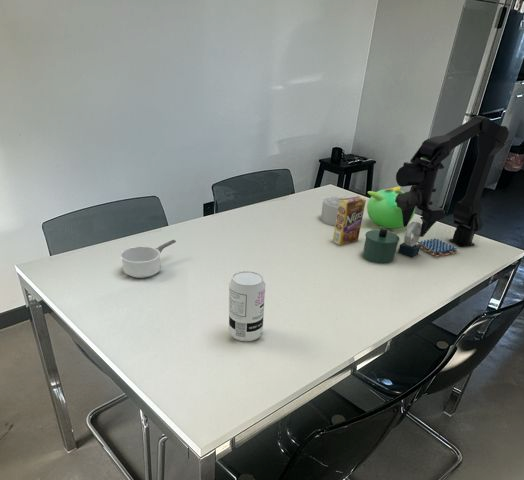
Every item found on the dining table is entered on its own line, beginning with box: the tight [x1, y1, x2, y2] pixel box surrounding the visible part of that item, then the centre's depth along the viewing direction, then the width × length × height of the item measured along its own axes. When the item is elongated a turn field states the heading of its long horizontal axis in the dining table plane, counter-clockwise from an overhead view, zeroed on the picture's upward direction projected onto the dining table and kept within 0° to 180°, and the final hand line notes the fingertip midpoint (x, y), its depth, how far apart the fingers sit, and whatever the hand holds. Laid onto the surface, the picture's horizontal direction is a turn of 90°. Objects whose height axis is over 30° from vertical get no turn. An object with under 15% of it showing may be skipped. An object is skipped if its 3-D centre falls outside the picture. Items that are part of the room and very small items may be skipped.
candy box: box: [332, 195, 367, 246], centre depth 159 cm, size 9×4×15 cm, turn 123°
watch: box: [397, 221, 422, 259], centre depth 155 cm, size 6×8×11 cm
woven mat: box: [416, 237, 458, 258], centre depth 161 cm, size 10×11×2 cm
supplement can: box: [228, 270, 266, 342], centre depth 108 cm, size 8×8×15 cm
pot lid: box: [364, 226, 401, 244], centre depth 149 cm, size 11×11×4 cm
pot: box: [362, 237, 399, 265], centre depth 152 cm, size 10×10×7 cm
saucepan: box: [119, 239, 177, 279], centre depth 138 cm, size 12×20×6 cm, turn 145°
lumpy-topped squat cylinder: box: [320, 195, 347, 227], centre depth 179 cm, size 10×13×9 cm
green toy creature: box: [366, 185, 416, 229], centre depth 175 cm, size 18×17×15 cm
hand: (413, 231), depth 153 cm, fingers open, 9 cm apart
